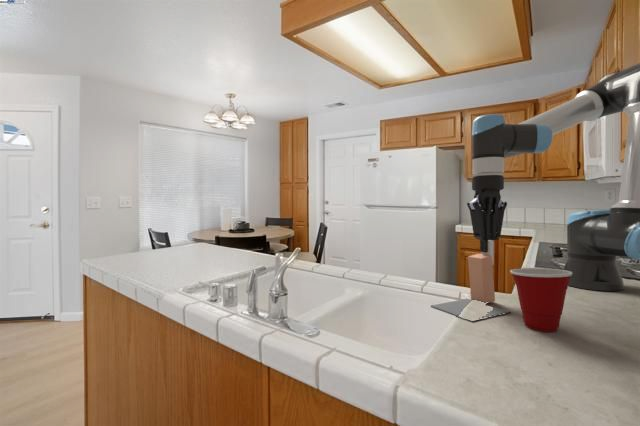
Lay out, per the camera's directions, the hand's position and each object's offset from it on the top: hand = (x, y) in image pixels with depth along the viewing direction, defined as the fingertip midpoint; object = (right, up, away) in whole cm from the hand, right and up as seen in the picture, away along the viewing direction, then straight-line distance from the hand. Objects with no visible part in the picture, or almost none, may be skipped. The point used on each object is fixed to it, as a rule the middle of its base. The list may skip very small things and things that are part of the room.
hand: (487, 264), depth 86 cm
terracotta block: (-1, -10, -1) cm, 10 cm away
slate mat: (-8, -10, -7) cm, 15 cm away
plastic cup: (+1, -10, -19) cm, 21 cm away
